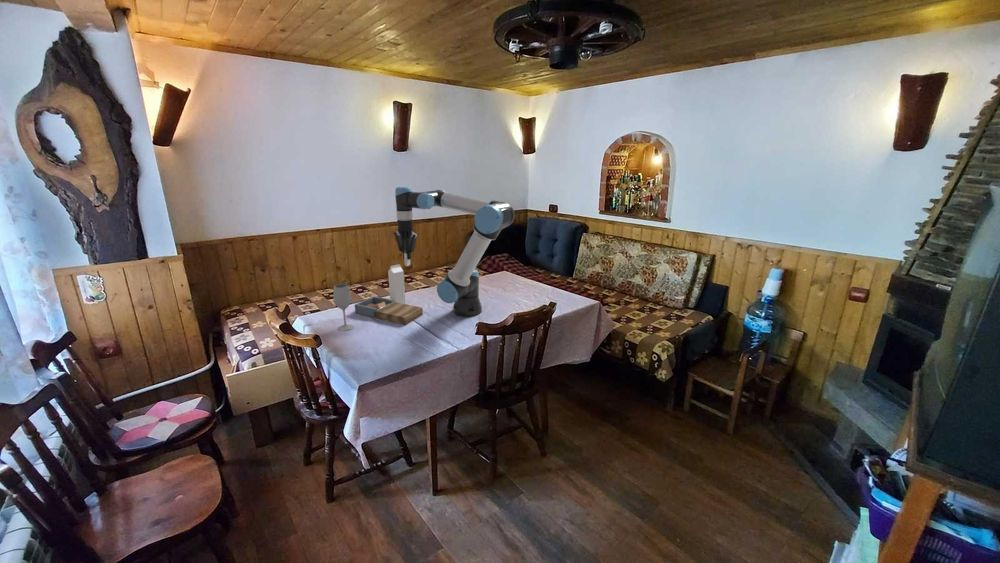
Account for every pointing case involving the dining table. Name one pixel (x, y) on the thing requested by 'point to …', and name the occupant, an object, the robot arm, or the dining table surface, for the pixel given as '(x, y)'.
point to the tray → (364, 310)
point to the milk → (396, 284)
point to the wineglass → (342, 302)
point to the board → (399, 313)
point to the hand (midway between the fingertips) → (407, 265)
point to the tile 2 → (379, 305)
